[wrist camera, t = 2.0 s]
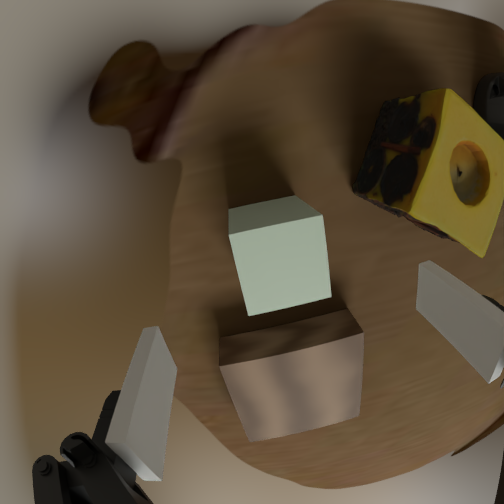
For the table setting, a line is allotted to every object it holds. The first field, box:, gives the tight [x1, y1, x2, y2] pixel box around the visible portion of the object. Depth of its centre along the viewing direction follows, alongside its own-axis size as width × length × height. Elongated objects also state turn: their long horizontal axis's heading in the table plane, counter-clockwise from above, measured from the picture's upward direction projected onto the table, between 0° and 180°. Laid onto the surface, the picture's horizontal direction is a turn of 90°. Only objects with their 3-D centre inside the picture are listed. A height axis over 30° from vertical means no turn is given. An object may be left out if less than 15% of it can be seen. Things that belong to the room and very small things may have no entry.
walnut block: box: [219, 309, 364, 442], centre depth 30 cm, size 14×14×5 cm
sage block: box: [228, 195, 331, 316], centre depth 23 cm, size 6×6×8 cm
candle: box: [353, 88, 504, 258], centre depth 21 cm, size 10×10×10 cm
